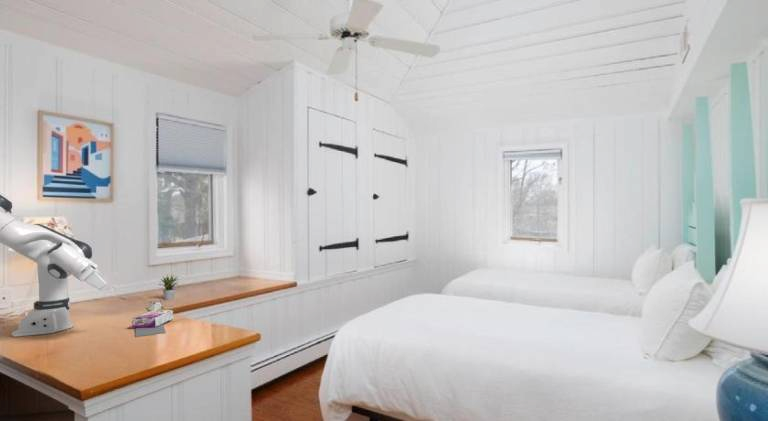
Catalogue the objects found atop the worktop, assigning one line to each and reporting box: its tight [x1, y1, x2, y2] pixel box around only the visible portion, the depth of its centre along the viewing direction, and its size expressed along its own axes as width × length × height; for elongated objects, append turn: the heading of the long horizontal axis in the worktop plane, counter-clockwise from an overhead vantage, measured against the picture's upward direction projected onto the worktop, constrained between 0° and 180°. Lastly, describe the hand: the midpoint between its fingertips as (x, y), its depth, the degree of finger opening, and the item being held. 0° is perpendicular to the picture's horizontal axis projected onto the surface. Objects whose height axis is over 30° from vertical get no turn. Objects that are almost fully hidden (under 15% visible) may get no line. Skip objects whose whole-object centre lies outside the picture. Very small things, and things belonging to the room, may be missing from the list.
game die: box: [145, 300, 166, 312], centre depth 227 cm, size 9×8×10 cm
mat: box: [135, 323, 166, 338], centre depth 200 cm, size 12×24×1 cm, turn 30°
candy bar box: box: [131, 309, 174, 329], centre depth 208 cm, size 11×5×16 cm
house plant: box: [158, 274, 181, 301], centre depth 277 cm, size 14×14×16 cm
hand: (113, 291), depth 193 cm, fingers closed
